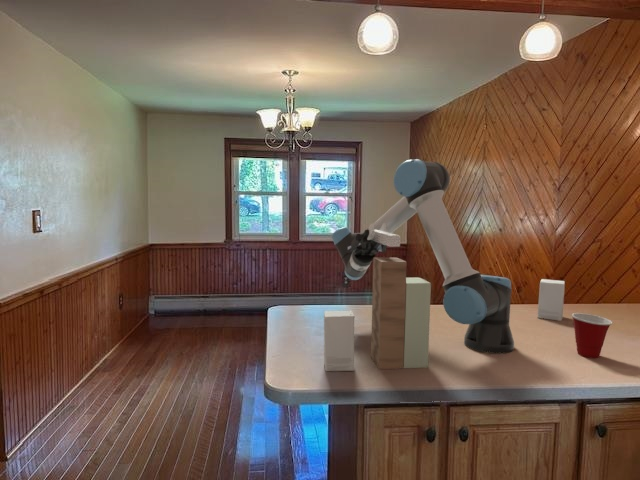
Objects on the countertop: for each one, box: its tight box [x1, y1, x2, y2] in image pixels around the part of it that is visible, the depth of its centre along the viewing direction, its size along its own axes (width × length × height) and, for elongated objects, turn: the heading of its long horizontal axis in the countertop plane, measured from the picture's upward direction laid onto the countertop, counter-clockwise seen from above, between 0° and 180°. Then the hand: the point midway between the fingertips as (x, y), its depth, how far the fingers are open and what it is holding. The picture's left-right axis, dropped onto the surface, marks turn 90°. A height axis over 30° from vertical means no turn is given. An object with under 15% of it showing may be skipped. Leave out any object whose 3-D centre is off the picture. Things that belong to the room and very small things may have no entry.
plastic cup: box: [571, 312, 613, 359], centre depth 138 cm, size 11×11×12 cm
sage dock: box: [402, 277, 432, 369], centre depth 129 cm, size 9×7×24 cm
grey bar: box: [370, 229, 401, 248], centre depth 133 cm, size 24×3×3 cm, turn 8°
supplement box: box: [537, 278, 566, 322], centre depth 183 cm, size 9×9×15 cm
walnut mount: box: [370, 257, 408, 370], centre depth 128 cm, size 9×7×30 cm
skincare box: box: [323, 310, 355, 372], centre depth 125 cm, size 8×7×16 cm
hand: (378, 227), depth 137 cm, fingers closed on grey bar, 3 cm apart
